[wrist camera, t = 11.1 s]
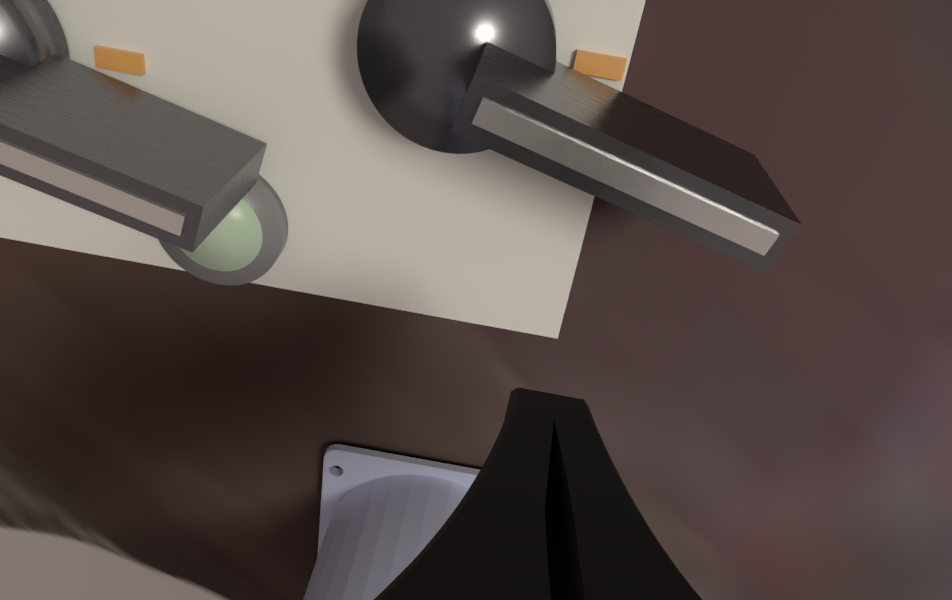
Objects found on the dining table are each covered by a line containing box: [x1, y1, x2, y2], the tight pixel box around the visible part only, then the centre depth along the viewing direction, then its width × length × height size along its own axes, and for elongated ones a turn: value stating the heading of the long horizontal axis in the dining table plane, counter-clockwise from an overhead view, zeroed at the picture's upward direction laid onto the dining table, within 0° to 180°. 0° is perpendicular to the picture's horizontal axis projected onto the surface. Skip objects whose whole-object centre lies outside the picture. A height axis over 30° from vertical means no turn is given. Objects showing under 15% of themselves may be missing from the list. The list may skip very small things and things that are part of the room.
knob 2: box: [0, 0, 267, 253], centre depth 17 cm, size 10×4×4 cm, turn 67°
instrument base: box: [0, 0, 645, 338], centre depth 19 cm, size 14×20×2 cm
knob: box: [357, 0, 802, 273], centre depth 16 cm, size 10×4×4 cm, turn 67°
